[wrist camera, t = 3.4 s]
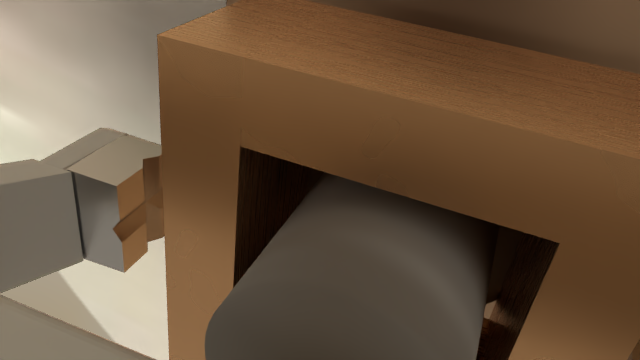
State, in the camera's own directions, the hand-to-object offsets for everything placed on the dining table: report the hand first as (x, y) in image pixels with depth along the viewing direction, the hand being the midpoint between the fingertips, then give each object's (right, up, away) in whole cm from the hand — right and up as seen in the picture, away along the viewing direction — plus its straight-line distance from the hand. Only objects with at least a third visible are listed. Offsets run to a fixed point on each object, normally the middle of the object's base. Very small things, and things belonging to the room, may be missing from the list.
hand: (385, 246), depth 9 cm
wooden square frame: (+1, +1, +1) cm, 1 cm away
